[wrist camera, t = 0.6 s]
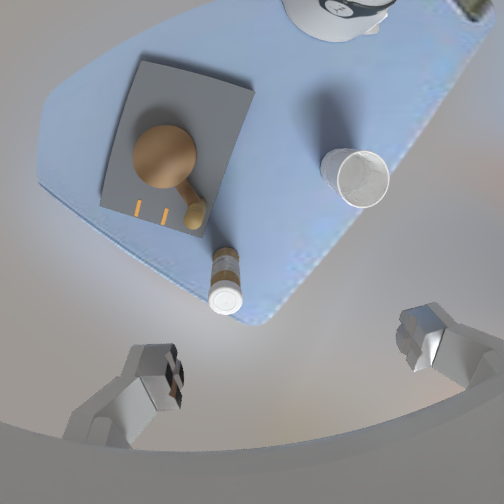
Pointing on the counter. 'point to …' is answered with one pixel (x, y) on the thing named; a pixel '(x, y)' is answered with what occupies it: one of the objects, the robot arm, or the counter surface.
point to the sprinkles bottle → (225, 282)
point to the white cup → (356, 175)
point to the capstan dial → (170, 166)
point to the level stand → (186, 117)
